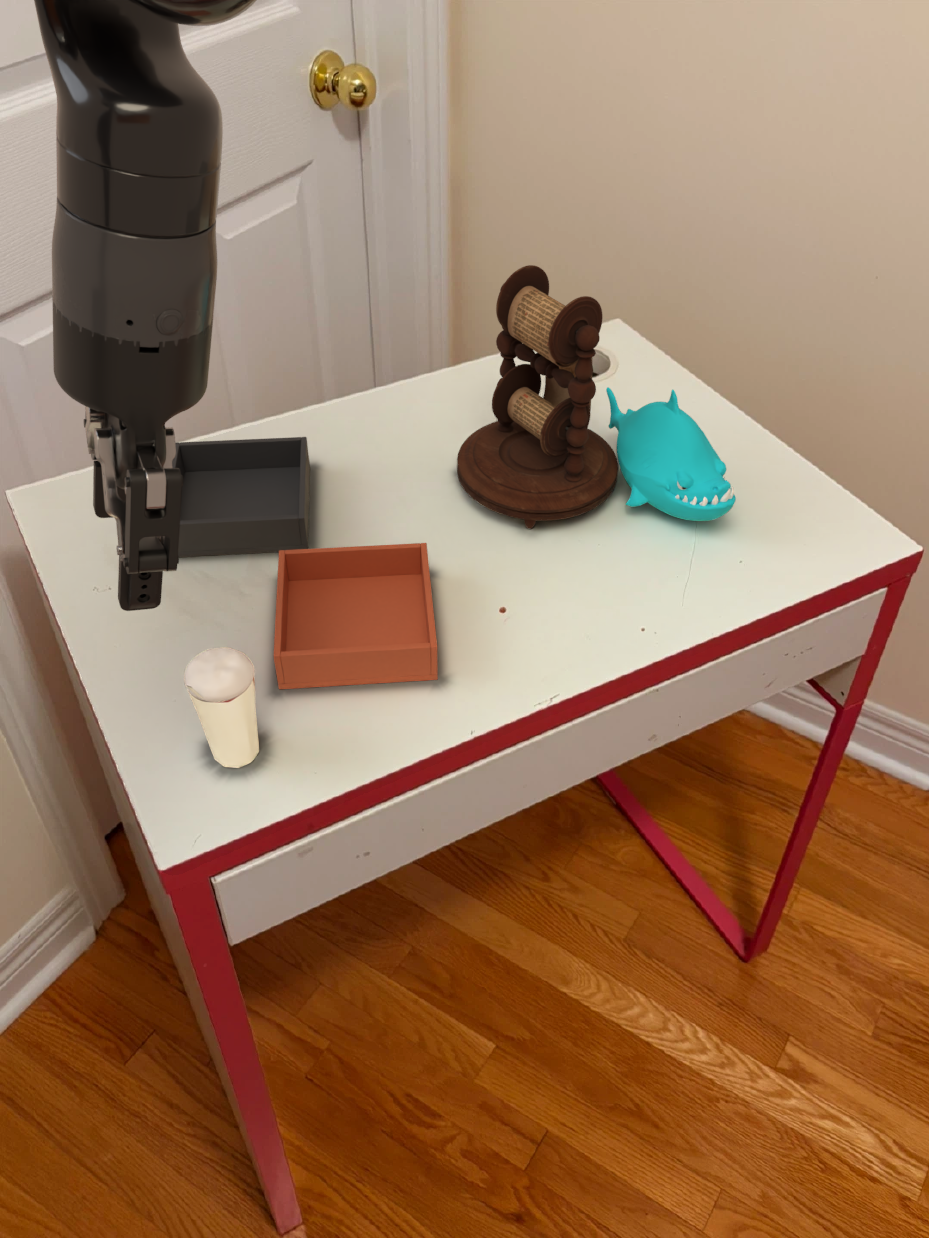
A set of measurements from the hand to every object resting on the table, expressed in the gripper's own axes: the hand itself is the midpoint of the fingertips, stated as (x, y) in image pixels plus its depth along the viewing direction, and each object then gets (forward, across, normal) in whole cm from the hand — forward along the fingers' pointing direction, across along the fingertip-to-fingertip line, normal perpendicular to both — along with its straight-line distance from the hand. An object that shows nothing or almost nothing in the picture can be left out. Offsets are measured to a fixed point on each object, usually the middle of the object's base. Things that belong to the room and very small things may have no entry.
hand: (125, 558), depth 61 cm
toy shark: (+8, -14, +50) cm, 53 cm away
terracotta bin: (+15, -7, +20) cm, 26 cm away
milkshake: (+18, +2, +8) cm, 19 cm away
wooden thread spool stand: (+10, -19, +41) cm, 46 cm away
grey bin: (+16, -26, +15) cm, 34 cm away
